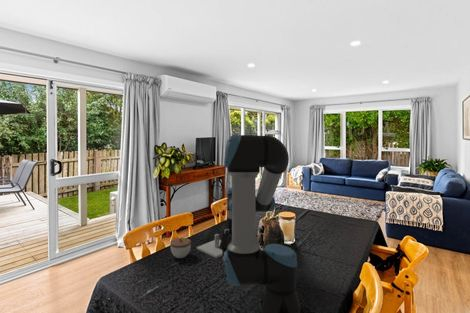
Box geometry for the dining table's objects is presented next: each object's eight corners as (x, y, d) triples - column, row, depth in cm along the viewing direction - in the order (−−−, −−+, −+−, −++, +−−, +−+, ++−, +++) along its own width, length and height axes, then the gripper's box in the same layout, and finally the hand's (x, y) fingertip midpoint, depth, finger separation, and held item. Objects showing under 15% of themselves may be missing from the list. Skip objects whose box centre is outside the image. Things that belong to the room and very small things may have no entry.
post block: (216, 258, 138) (216, 243, 137) (196, 249, 148) (196, 235, 148) (236, 248, 149) (237, 234, 149) (217, 240, 160) (217, 227, 160)
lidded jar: (166, 257, 138) (165, 240, 137) (179, 249, 148) (179, 233, 147) (182, 262, 133) (182, 244, 132) (194, 253, 143) (194, 237, 142)
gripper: (222, 224, 126) (222, 268, 127) (254, 213, 143) (253, 251, 145) (212, 221, 131) (212, 262, 132) (243, 210, 148) (243, 247, 150)
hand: (233, 257), depth 139 cm, fingers open, 12 cm apart
